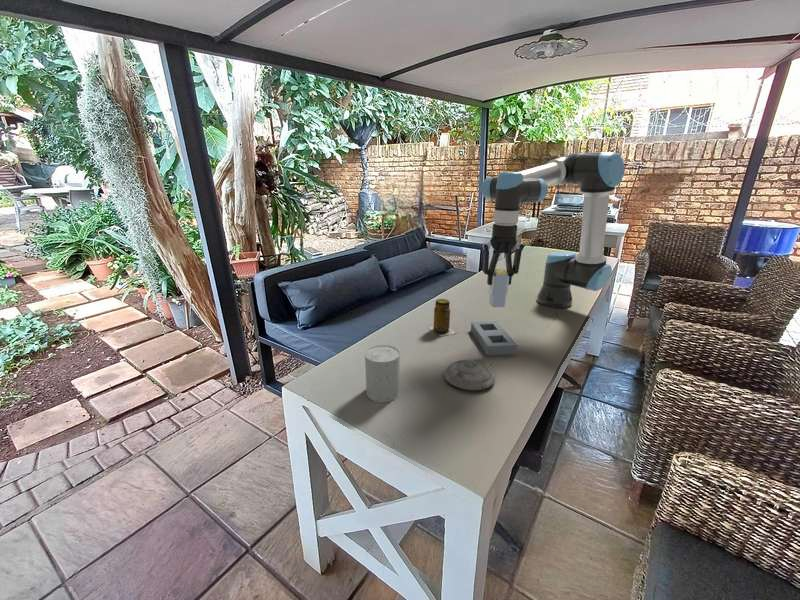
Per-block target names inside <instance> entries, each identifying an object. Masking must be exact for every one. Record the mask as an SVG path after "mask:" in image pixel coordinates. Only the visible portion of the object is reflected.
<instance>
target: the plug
mask: <svg viewBox="0 0 800 600" xmlns="http://www.w3.org/2000/svg"><path fill="white" fill-rule="evenodd" d="M493 275H494V276H495V284H494V294H493V295H491V294H490V293H489V302H488V304H490V306H491V307H492V308H505V305H506V297H507V295H506V289H507V280H508V275H507V270H505V269H504V268H497V269H496V268H495V271H494V274H493Z"/></svg>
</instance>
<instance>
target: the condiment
mask: <svg viewBox="0 0 800 600" xmlns="http://www.w3.org/2000/svg"><path fill="white" fill-rule="evenodd" d="M434 305H435V306H434V309H433V326H431V327H428V329H429V330H430V331H431V332H433V333H435V334H436V335H437V336H439V337H443V336H444V337H445V336H448V335H453V334H457V333H456V331H454V330H453V329H451V328H450V324H451V323H450V321H451V307H450V300H449V299H446V298H445V299H444V298H439V299H436V300H435V304H434Z"/></svg>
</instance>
